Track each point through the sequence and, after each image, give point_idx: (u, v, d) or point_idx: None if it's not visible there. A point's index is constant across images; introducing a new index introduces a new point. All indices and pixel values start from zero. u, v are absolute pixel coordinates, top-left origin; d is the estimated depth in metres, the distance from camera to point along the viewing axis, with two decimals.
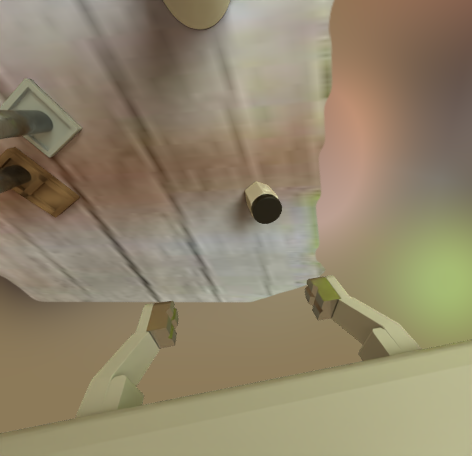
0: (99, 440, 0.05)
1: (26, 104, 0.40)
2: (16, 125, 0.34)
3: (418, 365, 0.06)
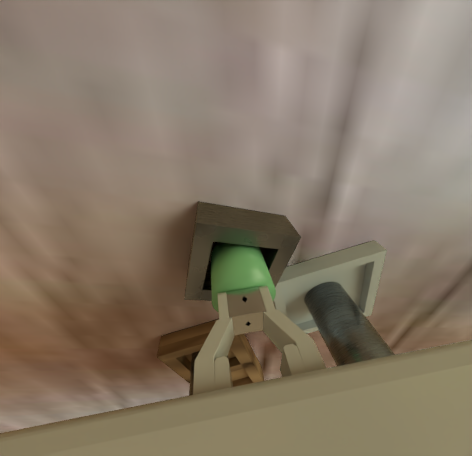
0: (99, 440, 0.05)
1: (329, 273, 0.19)
2: None
3: (418, 365, 0.06)
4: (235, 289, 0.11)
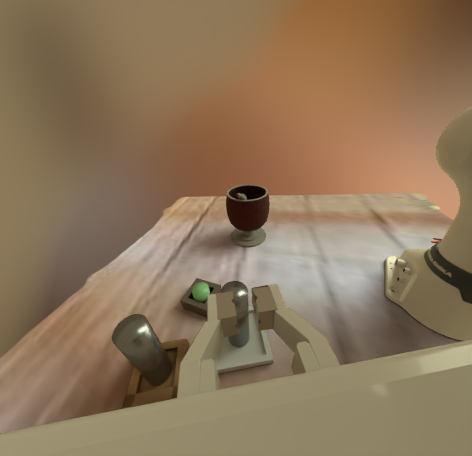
0: (99, 440, 0.05)
1: None
2: (247, 313, 0.31)
3: (418, 365, 0.06)
4: (199, 285, 0.44)
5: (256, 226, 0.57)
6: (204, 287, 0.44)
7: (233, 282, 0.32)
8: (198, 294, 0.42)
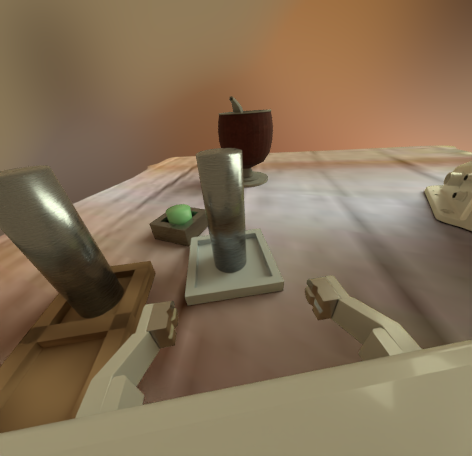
0: (99, 440, 0.05)
1: None
2: (241, 198, 0.19)
3: (418, 365, 0.06)
4: (177, 207, 0.32)
5: (256, 155, 0.45)
6: (183, 208, 0.31)
7: (219, 149, 0.19)
8: (173, 213, 0.30)
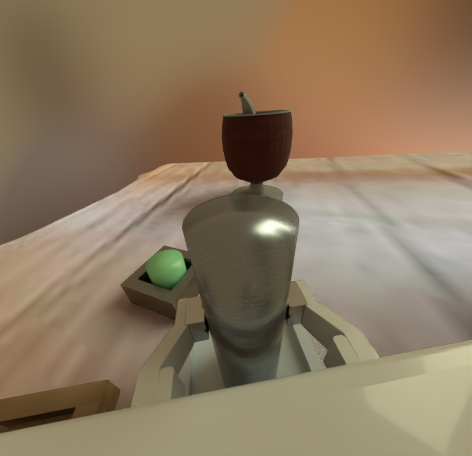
0: (99, 440, 0.05)
1: None
2: (286, 307, 0.09)
3: (418, 365, 0.06)
4: (163, 255, 0.21)
5: (271, 169, 0.35)
6: (173, 257, 0.21)
7: (236, 197, 0.09)
8: (157, 270, 0.19)
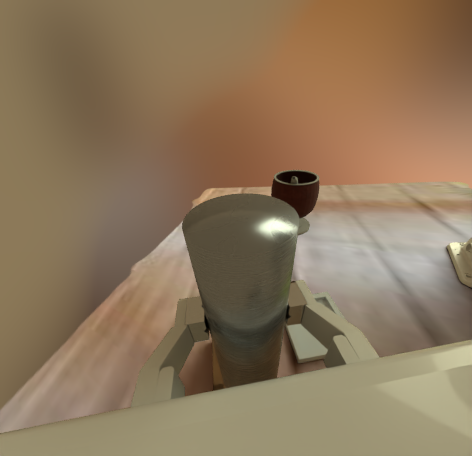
0: (99, 440, 0.05)
1: None
2: (286, 306, 0.09)
3: (418, 365, 0.06)
4: None
5: (305, 212, 0.55)
6: None
7: (236, 196, 0.09)
8: None
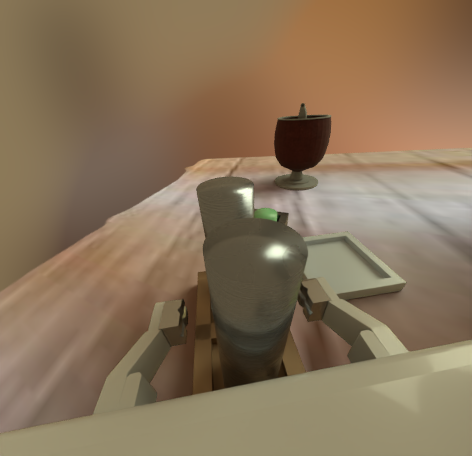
0: (99, 440, 0.05)
1: (326, 247, 0.30)
2: None
3: (418, 365, 0.06)
4: (262, 210, 0.33)
5: (314, 159, 0.47)
6: (270, 211, 0.33)
7: (248, 221, 0.10)
8: (264, 217, 0.31)
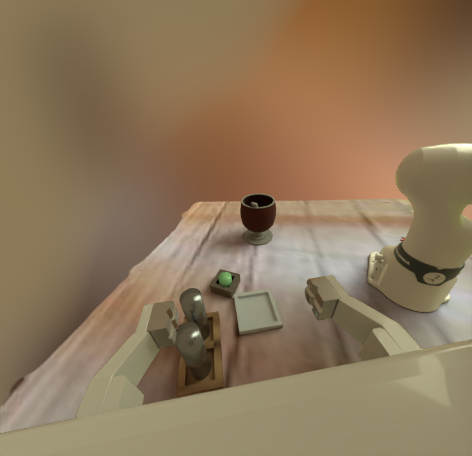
0: (99, 440, 0.05)
1: (256, 298, 0.54)
2: (201, 352, 0.33)
3: (418, 365, 0.06)
4: (223, 274, 0.57)
5: (265, 228, 0.71)
6: (227, 275, 0.57)
7: (188, 323, 0.34)
8: (223, 280, 0.55)
